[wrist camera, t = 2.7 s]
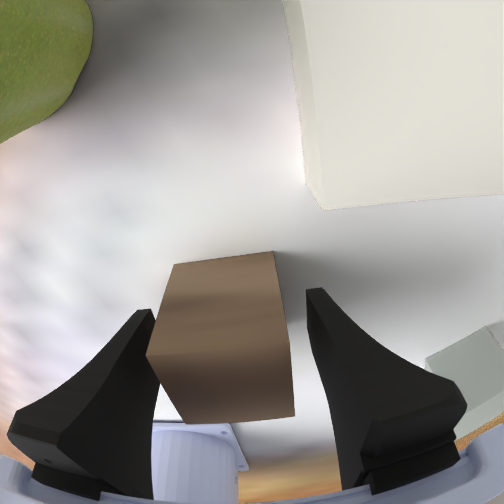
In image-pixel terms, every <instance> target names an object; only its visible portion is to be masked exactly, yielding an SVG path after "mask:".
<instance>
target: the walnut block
mask: <svg viewBox="0 0 504 504" xmlns="http://www.w3.org/2000/svg"><path fill="white" fill-rule="evenodd" d="M146 357H147V359H148V361H149V363H150V365H151V367H152V369H153V370H154V372H155V374H156V376H157V378H158V379H159V381H160V383H161V385H162V386H163V388H164V390H165V392H166V393H167V395H168V397H169V398H170V400H171V402H172V403H173V405H174V407H175V408H176V410H177V411H178V413H179V415H180V416H181V418H182V419H183V421H184V423H185V424H186V425H194V424H222V423H238V422H250V421H261V420H270V419H278V418H286V417H293V416H295V408H294V393H293V380H292V366H291V354H290V342H289V336H288V331H287V325H286V320H285V314H284V309H283V303H282V298H281V293H280V287H279V282H278V277H277V271H276V266H275V261H274V256H273V251H268V252H261V253H254V254H247V255H239V256H232V257H225V258H218V259H210V260H203V261H196V262H188V263H181V264H174V266H173V269H172V272H171V275H170V278H169V281H168V284H167V287H166V290H165V293H164V296H163V299H162V302H161V306H160V309H159V312H158V315H157V318H156V322H155V325H154V328H153V332H152V335H151V338H150V342H149V345H148V349H147V352H146Z"/></svg>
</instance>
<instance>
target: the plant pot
mask: <svg viewBox="0 0 504 504" xmlns="http://www.w3.org/2000/svg"><path fill="white" fill-rule="evenodd" d="M92 39H93V21H92V15H91V12H90V9H89V6H88V4H87V3H86V1H85V0H0V144H1V143H2V142H4V141H6V140H8V139H9V138H11V137H13V136H15V135H16V134H18V133H20V132H22V131H24V130H26V129H28V128H30V127H31V126H33V125H35V124H37V123H40V122H41V121H43V120H45V119H46V118H48V117H49V116H50V115H51V114H53V113H54V112H55V111H56V110H57V109H59V108H60V107H61V106H62V105H63V103H64V102H65V101H66V100H67V99H68V97H69V96H70V94H71V93H72V90H73V88H74V85H75V83H76V81H77V79H78V77H79V75H80V73H81V71H82V69H83V67H84V65H85V63H86V61H87V59H88V58H89V54H90V51H91V46H92Z"/></svg>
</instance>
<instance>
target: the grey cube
mask: <svg viewBox="0 0 504 504" xmlns="http://www.w3.org/2000/svg"><path fill="white" fill-rule="evenodd" d="M425 370H426V371H429V372H431V373H433V374H436V375H439V376H442V377H444V378H447V379H450V380H452V381H454V382H455V383H456V385H457V386H458V388H459V389H460V391H461V393H462V394H463V397H464V398H465V400H466V402H467V410H466V412H465V414H464V416H463V417H462V419H461V420H460V421H459V423H458V424H457V425H456V427H455V428H454V429H453V430H454V432H455V434H456V440H458V439H460V438H462V437H464V436H465V435H467V434H469V433H471V432H472V431H474V430H476V429H478V428H479V427H481V426H483V425H484V424H486V423H487V422H489V421H491V420H492V419H494V418H495V417H497V416H498V415H500V414H502V413H503V411H504V351H503V349H502V348H501V347H500V345H499V344H498V342H497V341H496V340H495V338H494V337H493V336H492V334H491V333H490V332H489V330H488V329H487V328H486V326H485V327H483V328H482V329H480V330H478V331H476V332H475V333H473V334H471V335H469V336H468V337H466V338H464V339H462V340H460V341H459V342H457V343H455V344H453V345H451V346H449V347H447V348H445V349H443V350H441V351H439V352H437V353H435V354H433V355H431V356H429V357H427V358H425ZM456 440H455V441H456Z"/></svg>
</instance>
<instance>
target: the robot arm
mask: <svg viewBox="0 0 504 504" xmlns="http://www.w3.org/2000/svg"><path fill="white" fill-rule="evenodd" d="M306 306H307V329H308V334H309V339H310V344H311V349H312V353H313V356H314V359H315V362H316V365H317V368H318V371H319V374H320V377H321V381H322V384H323V387H324V390H325V393H326V396H327V400H328V404H329V409H330V414H331V419H332V424H333V430H334V436H335V442H336V448H337V454H338V461H339V468H340V476H341V484H342V491H338V492H334V493H329V494H323V495H318V496H312V497H305V498H298V499H291V500H282V501H272V502H260V503H241V504H485V503H486V502H488V501H490V500H491V499H493V498H494V497H496V496H498V495H499V494H501V493H502V492H504V424H503V423H500V424H499V425H497V426H495V427H493V428H492V429H490V430H488V431H486V432H484V433H482V434H481V435H479V436H477V437H476V438H474V439H473V440H472V441H471V442H470V443H469V444H468V445H467V447H466V448H465V449H463V450H461V451H459V452H458V451H457V448H456V446H455V443H454V441H455V440H456V434H455V432H454V430H453V429H454V428H455V427H456V425H457V424H458V423H459V421H460V420H461V419H462V417H463V416H464V414H465V412H466V410H467V402H466V400H465V398H464V397H463V394H462V393H461V391H460V389H459V388H458V386H457V385H456V383H455V382H454V381H452V380H450V379H447V378H444V377H442V376H439V375H436V374H433V373H431V372H429V371H426V370H424V369H422V368H420V367H418V366H416V365H414V364H412V363H410V362H408V361H407V360H405V359H403V358H401V357H400V356H398V355H396V354H394V353H393V352H391V351H390V350H388V349H387V348H385V347H384V346H383V345H381V344H380V343H378V342H377V341H376V340H375V339H373V338H372V337H371V336H370V335H368V334H367V333H366V332H365V331H364V330H362V329H361V328H360V327H359V326H358V325H357V324H356V323H355V322H354V321H353V320H352V319H351V318H350V317H349V316H348V315H347V314H346V313H345V312H344V311H343V310H342V309H341V308H340V307H339V306H338V305H337V304H336V303H335V302H334V301H333V300H332V298H331V297H330V296H329V295H328V294H327V292H326V291H325V290H324V289H323V288H314V289H308V290H306ZM155 322H156V320H155V318H154V316H153V313H152V311H151V309H143V310H137V311H136V312H135V313H134V314H133V315H132V316H131V317H130V318H129V319H128V321H127V322H126V323H125V324H124V325H123V326H122V327H121V329H120V330H119V331H118V332H117V333H116V334H115V335H114V336H113V338H112V339H111V340H110V341H109V342H108V343H107V344H106V345H105V346H104V347H103V348H102V349H101V351H100V352H99V353H98V354H97V355H96V356H95V357H94V358H93V359H92V360H91V361H90V362H89V363H88V364H87V365H86V366H84V367H83V368H82V369H81V370H80V371H79V372H78V373H76V374H75V375H74V376H73V377H72V378H70V379H69V380H68V381H66V382H65V383H64V384H62V385H61V386H60V387H58V388H57V389H55V390H54V391H52V392H51V393H49V394H48V395H46V396H44V397H43V398H41V399H39V400H37V401H36V402H34V403H32V404H30V405H28V406H26V407H24V408H22V409H19V410H17V411H16V413H15V415H14V418H13V420H12V423H11V425H10V428H9V430H8V433H7V436H8V439H9V440H10V441H11V443H12V444H13V445H14V446H16V447H17V448H18V449H19V450H20V451H21V452H23V453H24V454H25V455H26V456H28V457H29V458H30V459H32V460H33V461H34V462H36V463H35V466H34V469H33V471H31V469H30V468H28V467H27V466H26V465H24V464H23V463H21V462H19V461H17V460H15V459H12V458H10V457H7V456H5V455H1V457H0V504H238V472H240V471H248V470H249V465H248V463H247V461H246V459H245V457H244V455H243V452H242V450H241V448H240V446H239V444H238V441H237V439H236V437H235V435H234V432H233V430H232V428H231V426H230V424H229V423H222V424H194V425H186V424H185V423H153V417H154V410H155V405H156V401H157V396H158V391H159V387H160V381H159V379H158V378H157V376H156V374H155V372H154V370H153V369H152V367H151V365H150V363H149V361H148V359H147V357H146V352H147V349H148V345H149V342H150V338H151V335H152V332H153V328H154V325H155Z"/></svg>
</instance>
